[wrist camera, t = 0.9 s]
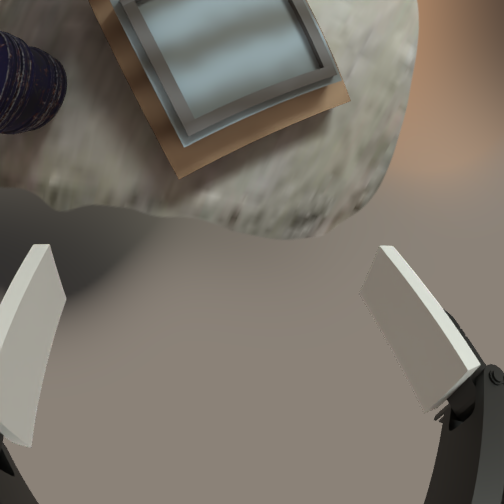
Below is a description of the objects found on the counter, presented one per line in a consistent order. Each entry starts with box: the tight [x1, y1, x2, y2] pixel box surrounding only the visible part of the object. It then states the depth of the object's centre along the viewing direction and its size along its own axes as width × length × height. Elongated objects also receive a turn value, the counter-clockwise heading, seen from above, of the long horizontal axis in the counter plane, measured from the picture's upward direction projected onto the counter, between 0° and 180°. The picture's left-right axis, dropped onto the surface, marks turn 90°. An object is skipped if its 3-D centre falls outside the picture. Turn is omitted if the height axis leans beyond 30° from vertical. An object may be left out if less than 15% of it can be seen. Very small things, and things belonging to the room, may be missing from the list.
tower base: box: [88, 0, 351, 179], centre depth 26 cm, size 24×22×8 cm
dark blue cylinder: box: [0, 31, 67, 134], centre depth 18 cm, size 10×10×15 cm
